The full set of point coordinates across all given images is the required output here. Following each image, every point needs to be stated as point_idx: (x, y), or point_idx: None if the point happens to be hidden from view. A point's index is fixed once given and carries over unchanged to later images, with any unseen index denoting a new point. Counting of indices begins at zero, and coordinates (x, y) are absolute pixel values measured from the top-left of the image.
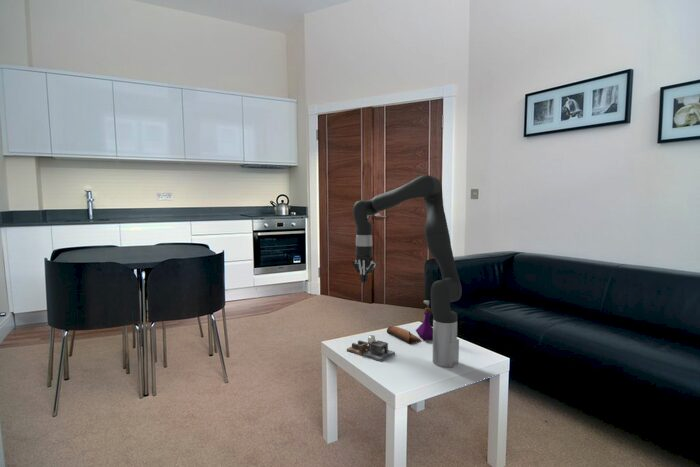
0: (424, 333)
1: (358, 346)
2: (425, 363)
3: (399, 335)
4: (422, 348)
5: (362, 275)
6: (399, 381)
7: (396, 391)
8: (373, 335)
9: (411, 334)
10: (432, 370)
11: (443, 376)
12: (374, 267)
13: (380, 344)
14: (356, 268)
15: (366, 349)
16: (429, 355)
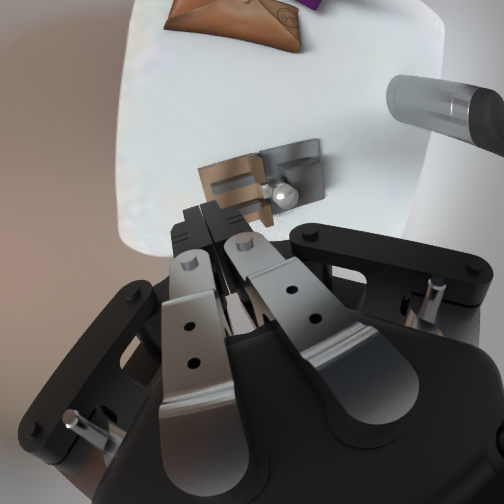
0: (319, 3)
1: (245, 213)
2: (384, 128)
3: (248, 39)
4: (334, 54)
5: (226, 291)
6: (385, 224)
7: None
8: (286, 187)
9: (269, 8)
10: (404, 147)
11: (421, 153)
12: (429, 257)
13: (315, 187)
14: (143, 385)
15: (260, 194)
16: (369, 83)
